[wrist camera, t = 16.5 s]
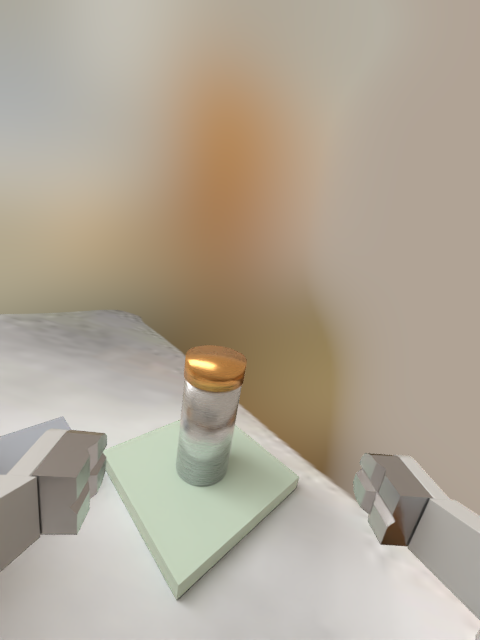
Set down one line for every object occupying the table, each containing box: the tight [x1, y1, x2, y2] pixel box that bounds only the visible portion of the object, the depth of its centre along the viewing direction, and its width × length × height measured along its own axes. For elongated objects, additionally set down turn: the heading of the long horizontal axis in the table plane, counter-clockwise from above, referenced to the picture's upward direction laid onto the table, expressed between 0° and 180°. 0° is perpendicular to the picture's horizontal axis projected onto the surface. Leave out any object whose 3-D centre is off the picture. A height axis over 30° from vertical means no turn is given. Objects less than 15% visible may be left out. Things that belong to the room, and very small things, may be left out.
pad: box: [103, 420, 299, 600], centre depth 23 cm, size 12×12×1 cm
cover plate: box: [0, 417, 71, 475], centre depth 21 cm, size 6×6×2 cm
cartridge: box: [176, 345, 247, 487], centre depth 22 cm, size 5×5×10 cm
